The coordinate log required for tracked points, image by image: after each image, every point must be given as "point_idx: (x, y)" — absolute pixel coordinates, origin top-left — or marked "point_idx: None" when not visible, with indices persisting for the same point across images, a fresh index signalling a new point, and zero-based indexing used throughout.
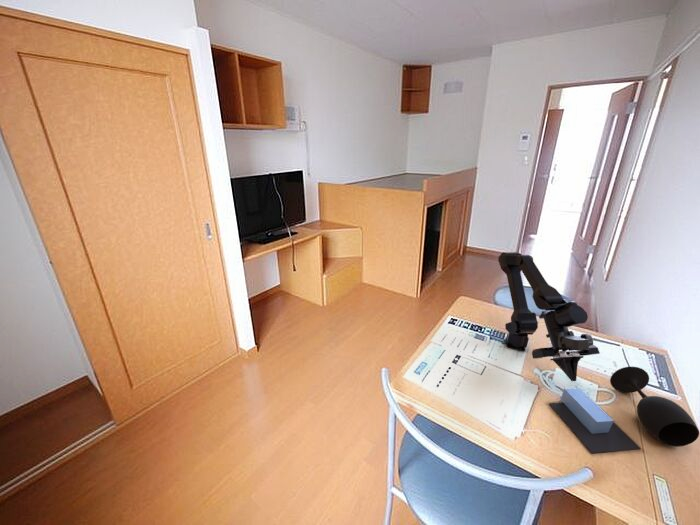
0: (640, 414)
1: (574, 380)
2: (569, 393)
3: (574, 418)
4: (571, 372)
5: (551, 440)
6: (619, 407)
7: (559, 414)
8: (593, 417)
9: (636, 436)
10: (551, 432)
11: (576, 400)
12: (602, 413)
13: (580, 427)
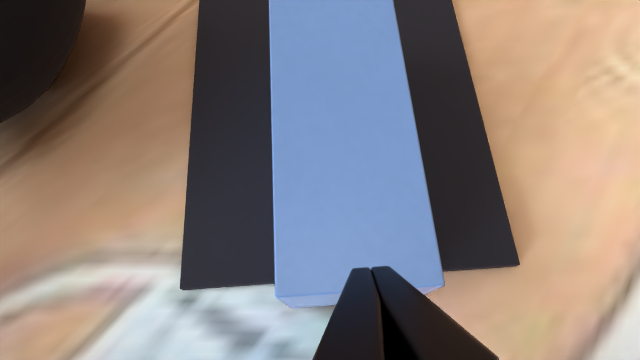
0: (33, 34)
1: (380, 266)
2: (428, 221)
3: None
4: (438, 325)
5: (605, 38)
6: (33, 232)
7: (492, 172)
8: (388, 11)
9: (149, 56)
10: (587, 76)
11: (412, 146)
12: (296, 39)
13: (414, 90)
